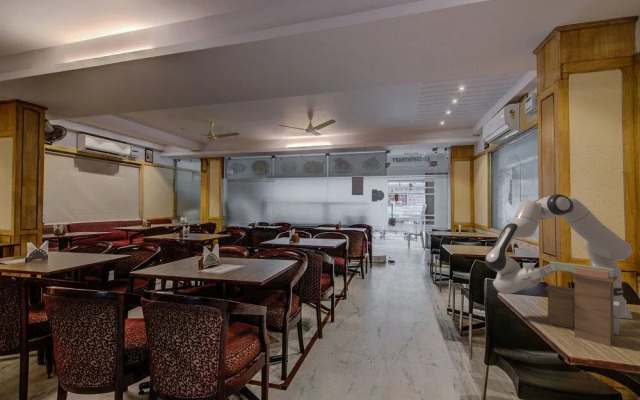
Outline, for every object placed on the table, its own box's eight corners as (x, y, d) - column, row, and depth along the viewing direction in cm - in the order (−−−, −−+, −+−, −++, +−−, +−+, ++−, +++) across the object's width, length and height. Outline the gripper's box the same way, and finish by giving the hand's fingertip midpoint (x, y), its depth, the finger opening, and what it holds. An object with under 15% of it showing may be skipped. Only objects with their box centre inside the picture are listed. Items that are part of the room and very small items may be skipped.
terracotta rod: (577, 273, 133) (577, 267, 133) (609, 277, 125) (609, 271, 126) (575, 273, 132) (575, 267, 132) (607, 278, 124) (608, 271, 124)
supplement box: (596, 330, 139) (596, 301, 139) (597, 326, 144) (597, 298, 144) (619, 335, 134) (619, 305, 134) (620, 331, 139) (620, 301, 139)
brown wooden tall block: (576, 331, 138) (576, 270, 138) (617, 341, 128) (617, 276, 128) (570, 336, 132) (571, 273, 133) (613, 347, 122) (613, 279, 123)
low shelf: (550, 318, 154) (550, 284, 154) (579, 325, 145) (579, 289, 145) (544, 322, 148) (544, 287, 148) (574, 329, 139) (574, 292, 140)
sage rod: (551, 268, 144) (551, 261, 144) (614, 276, 127) (614, 269, 127) (549, 268, 142) (549, 262, 142) (613, 277, 126) (613, 269, 126)
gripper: (516, 273, 144) (547, 261, 135) (532, 268, 157) (561, 257, 148) (524, 287, 142) (556, 276, 132) (539, 280, 155) (570, 270, 145)
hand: (559, 266), depth 140 cm, fingers open, 8 cm apart
